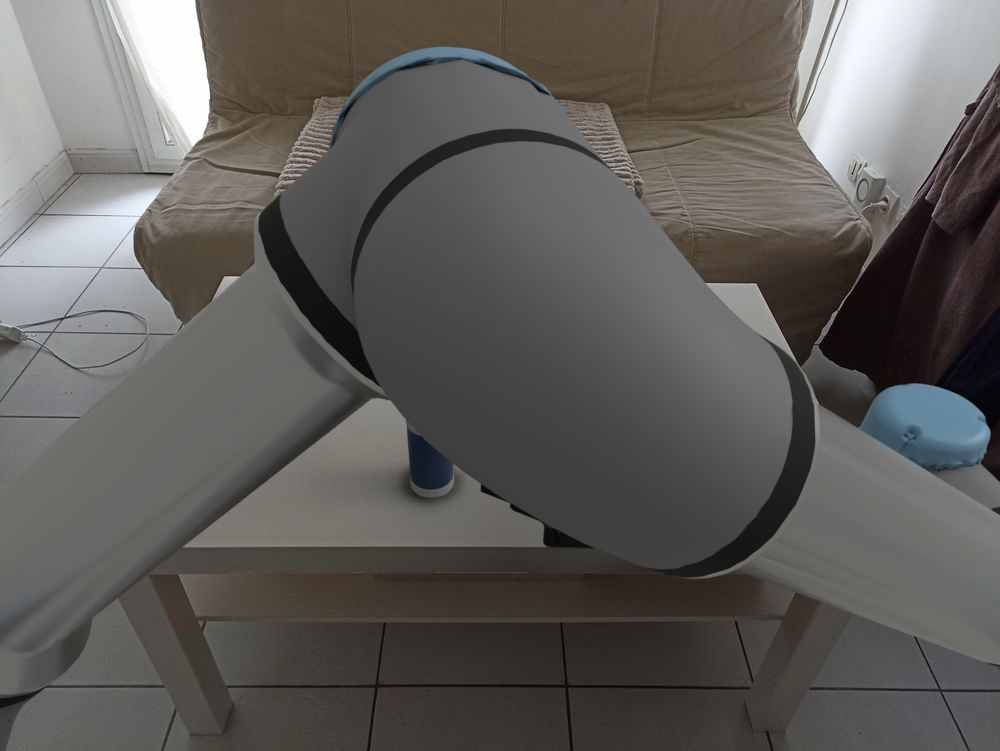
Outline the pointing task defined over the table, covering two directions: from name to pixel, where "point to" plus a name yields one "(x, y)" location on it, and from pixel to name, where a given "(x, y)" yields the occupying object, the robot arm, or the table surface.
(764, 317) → the table surface
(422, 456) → the blue cylindrical container
